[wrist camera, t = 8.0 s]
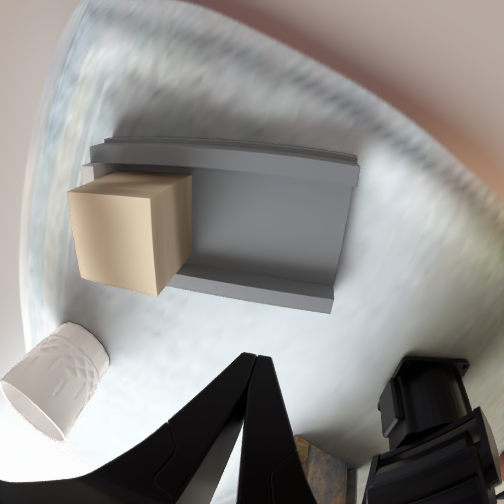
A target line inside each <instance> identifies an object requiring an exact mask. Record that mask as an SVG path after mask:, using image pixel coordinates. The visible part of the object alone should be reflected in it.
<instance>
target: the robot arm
mask: <svg viewBox="0 0 504 504" xmlns="http://www.w3.org/2000/svg"><path fill="white" fill-rule="evenodd" d="M407 362H408V363H407ZM469 366H470V364H469V361H468V360H466V359H446V358H428V357H413V356H406V357H404V358H403V359H402V360H401V361H400V363H399V365H398V367H397V369H396V371H395V373H394V375H393V377H392V378H391V379H390V380H389V381H388V383H387V385H386V387H385V389H384V391H383V393H382V394H381V396H380V401H379V403H378V410H379V411H381V419H382V431H383V436H384V437H385V438H389V447H390V451H388V452H386V453H383V454H377V455H375V456H373V458H372V462H371V467H370V472H369V476H368V480H367V484H366V488H365V492H364V497H363V501H362V504H497V499H496V494H495V489H494V488H495V487H497V486H498V485H500V484H502V479H501V470H500V462H499V455H498V450H497V446H496V443H495V440H494V436H493V433H492V430H491V427H490V425H489V423H488V421H487V419H486V417H485V415H484V413H483V411H482V409H481V407H480V406H479V407H477V408H475V409H474V410H473V411H472V408H471V405H470V402H469V399H468V396H467V393H466V390H465V387H464V384H463V381H462V377H463V376H464V374H465V373H466V371H467V370H468V368H469ZM243 422H244V426H243V436H242V446H241V456H240V466H239V476H238V486H237V495H236V504H318V503H317V501H316V499H315V497H314V495H313V492H312V490H311V488H310V485H309V483H308V481H307V478H306V475H305V472H304V469H303V466H302V463H301V460H300V456H299V453H298V451H297V446H296V443H295V439H294V436H293V432H292V429H291V425H290V422H289V418H288V414H287V411H286V407H285V404H284V400H283V396H282V393H281V389H280V386H279V382H278V379H277V375H276V371H275V368H274V364H273V360H272V358H271V357H269V356H263V355H258V356H256V354H252V353H246V352H243V353H241V354H240V355H239V356H238V357H237V358H236V359H235V360H234V361H233V362H232V363H231V364H230V365H229V366H228V367H227V368H226V369H225V370H223V371H222V372H221V373H220V374H219V375H218V376H217V377H216V378H215V379H214V380H213V381H212V382H211V383H209V384H208V385H207V386H206V387H205V388H204V389H203V390H202V391H201V392H200V393H199V394H197V395H196V396H195V397H194V398H193V399H192V400H191V401H190V402H188V403H187V404H186V405H185V406H184V407H183V408H182V409H181V410H179V411H178V412H177V413H176V414H175V415H174V416H173V417H171V418H170V419H169V420H168V423H167V422H166V423H164V424H163V425H162V426H161V427H160V428H159V429H157V430H156V431H155V432H154V433H152V434H151V435H150V436H149V437H147V438H146V439H145V440H143V441H142V442H140V443H139V444H137V445H136V446H134V447H133V448H131V449H130V450H128V451H127V452H125V453H123V454H122V455H120V456H118V457H117V458H115V459H113V460H112V461H110V462H108V463H107V464H105V465H103V466H101V467H100V468H98V469H96V470H94V471H93V472H91V473H88V474H86V475H83V476H80V477H76V478H71V479H62V480H51V481H38V482H6V481H2V480H0V504H210V502H211V499H212V497H213V495H214V493H215V490H216V488H217V486H218V483H219V481H220V479H221V476H222V474H223V472H224V469H225V467H226V465H227V462H228V460H229V458H230V455H231V453H232V450H233V448H234V445H235V443H236V440H237V438H238V436H239V433H240V431H241V428H242V425H243Z"/></svg>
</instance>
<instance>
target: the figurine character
mask: <svg viewBox="0 0 504 504" xmlns="http://www.w3.org/2000/svg"><path fill="white" fill-rule="evenodd" d="M499 462H500V470H501V479H502V480H503V481H504V453H503V454H502V455H501V456H500V457H499ZM496 499H497V500H498V499H504V491H503V492H501V493H499V494H497V495H496Z"/></svg>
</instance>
